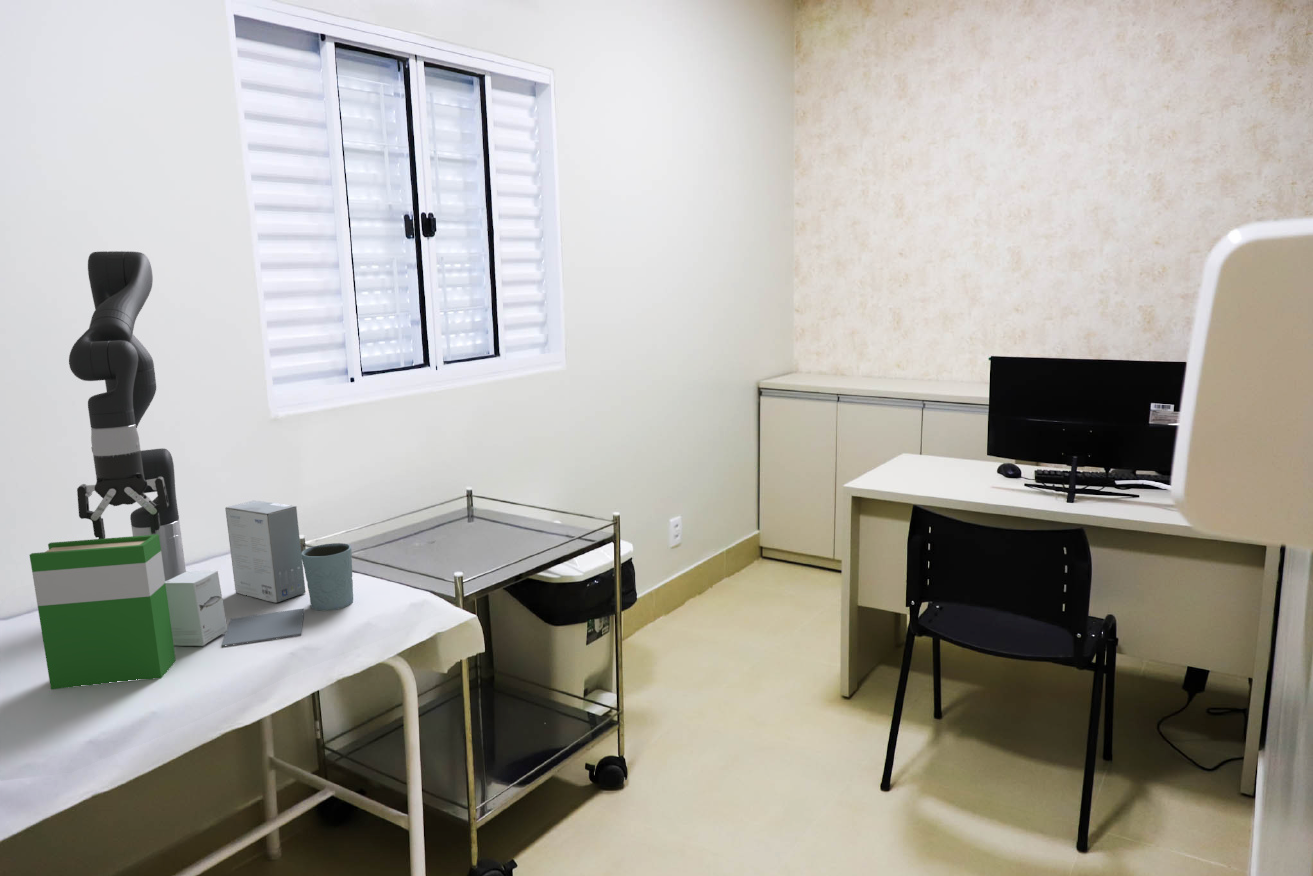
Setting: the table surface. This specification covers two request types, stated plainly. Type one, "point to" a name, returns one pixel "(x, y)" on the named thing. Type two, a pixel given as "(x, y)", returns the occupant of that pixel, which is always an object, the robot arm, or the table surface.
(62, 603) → the hardback book
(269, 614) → the mat
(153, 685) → the table surface
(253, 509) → the hard drive box
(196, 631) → the supplement box
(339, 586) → the blue-grey plant pot
